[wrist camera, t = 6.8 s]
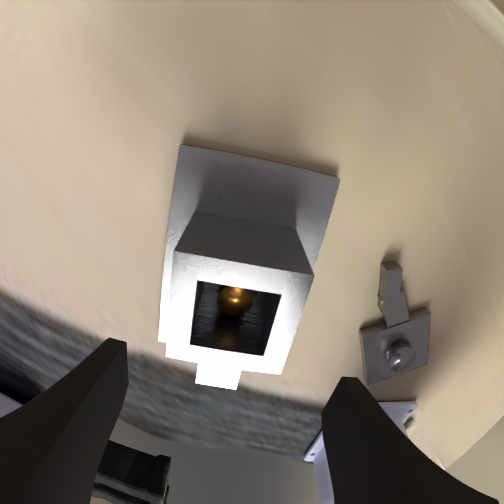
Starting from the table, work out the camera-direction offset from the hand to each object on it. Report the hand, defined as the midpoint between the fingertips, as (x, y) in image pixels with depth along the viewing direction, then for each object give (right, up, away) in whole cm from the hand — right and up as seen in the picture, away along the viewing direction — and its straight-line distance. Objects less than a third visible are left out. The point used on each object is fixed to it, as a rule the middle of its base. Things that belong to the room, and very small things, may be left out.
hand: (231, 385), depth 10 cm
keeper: (0, +4, +8) cm, 9 cm away
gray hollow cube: (0, +4, +7) cm, 8 cm away
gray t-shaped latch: (+10, 0, +10) cm, 14 cm away
